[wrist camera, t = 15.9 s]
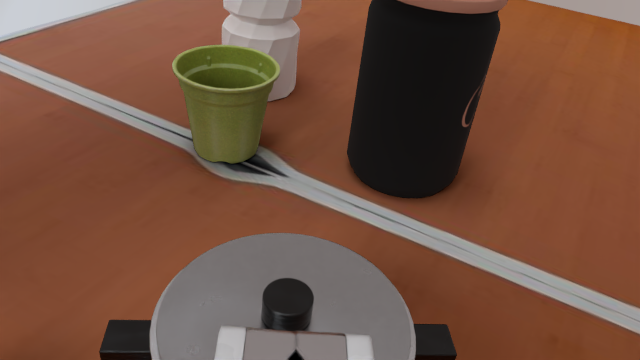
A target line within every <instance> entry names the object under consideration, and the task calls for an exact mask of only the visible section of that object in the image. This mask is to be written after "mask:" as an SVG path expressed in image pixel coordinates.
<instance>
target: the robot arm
mask: <svg viewBox="0 0 640 360" xmlns="http://www.w3.org/2000/svg"><path fill="white" fill-rule="evenodd" d="M214 360H374V354H373V345H372V339H371V337H370V335H360V334H344V333H334V332H313V331H296V332H294V331H283V330H272V329H261V328H250V327H236V326H222V325H221V328H220V331H219V334H218V340H217V346H216V352H215V358H214Z"/></svg>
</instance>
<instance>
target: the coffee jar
mask: <svg viewBox="0 0 640 360" xmlns="http://www.w3.org/2000/svg"><path fill="white" fill-rule="evenodd" d="M507 1H508V0H372V1H371V4H370V7H369V11H368V18H367V24H366V31H365V37H364V44H363V51H362V57H361V64H360V70H359V77H358V84H357V90H356V97H355V103H354V110H353V116H352V123H351V130H350V136H349V143H348V149H347V155H348V158H349V161H350V165H351V167H352V168H353V169H354V173H355V174H356V175H357V176H358V177H359V178H360V180H361V181H362V182H364V183H365V184H367V185H368V186H370V187H371V188H373V189H375V190H377V191H380V192H382V193H385V194H387V195H392V196H397V197H402V198H422V197H427V196H431V195H434V194H436V193H437V192H439V191H441V190H443V188H445V187H446V186H448V185H449V184H450V183H451V182H452V181H453V179H454V178H455V176H456V175H457V173H458V169H459V166H460V163H461V159H462V156H463V152H464V149H465V146H466V142H467V139H468V136H469V132H470V129H471V125H472V122H473V119H474V115H475V112H476V108H477V105H478V102H479V98H480V95H481V92H482V88H483V85H484V81H485V78H486V75H487V71H488V68H489V64H490V61H491V58H492V54H493V51H494V47H495V44H496V41H497V37H498V34H499V31H500V21H499V17H498V15H497V14H498V11H499V10H501V9H502V8H503V7H504V6H505V5H506V4H507Z"/></svg>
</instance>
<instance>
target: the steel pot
mask: <svg viewBox="0 0 640 360" xmlns="http://www.w3.org/2000/svg"><path fill="white" fill-rule="evenodd" d="M221 325H222V326H236V327H250V328H261V329H272V330H283V331H294V332H296V331H313V332H334V333H344V334H360V335H370V337H371V339H372V345H373V354H374V360H455V359H456V356H457V353H456V350H455V347H454V344H453V341H452V338H451V335H450V332H449V329H448V326H447V325H446V324H413V321H412V318H411V315H410V312H409V310H408V308H407V306H406V304H405V302H404V300H403V298H402V296H401V295H400V293H399V292H398V291H397V289H396V288H395V286H394V285H393V284H392V283H391V282H390V281H389V279H388V278H387V277H386V276H385V275H384V274H383V273H382V272H381V271H380V270H379V269H378V268H377V267H376V266H374V265H373V264H372V263H371V262H369V261H368V260H366V259H365V258H364V257H362V256H361V255H359V254H357V253H355V252H354V251H352V250H350V249H348V248H346V247H344V246H341V245H339V244H337V243H334V242H331V241H328V240H325V239H321V238H317V237H313V236H308V235H301V234H292V233H267V234H257V235H252V236H246V237H242V238H238V239H235V240H231V241H229V242H226V243H224V244H221V245H218V246H216V247H214V248H212V249H211V250H209V251H207V252H205V253H203V254H202V255H200V256H199V257H197V258H196V259H194V260H193V261H192V262H191V263H189V264H188V265H187V266H186V267H185V268H183V269H182V270H181V271H180V272H179V273H178V274H177V275H176V276H175V277H174V278H173V279H172V281H171V282H170V283H169V284H168V286H167V287H166V289H165V290H164V292H163V293H162V295H161V297H160V299H159V301H158V303H157V305H156V307H155V310H154V313H153V316H152V319H151V320H109V323H108V326H107V329H106V332H105V335H104V338H103V342H102V345H101V348H100V351H99V353H100V358H101V360H214V358H215V352H216V346H217V340H218V334H219V331H220V328H221Z"/></svg>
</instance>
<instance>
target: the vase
mask: <svg viewBox="0 0 640 360" xmlns="http://www.w3.org/2000/svg"><path fill="white" fill-rule="evenodd" d="M223 5H224V8H225V9H226V10H227V11H228V12H229V13H231V14H230V15H229V16H228V17H227V18H226V19H225V21H224V23H223V25H222V45H234V46H242V47H247V48H252V49H255V50H259V51H261V52H263V53H266V54H268V55H269V56H271V57H272V58H274V59H275V60H276V61H277V63H278V64H279V66H280V75H279V77H278V79H277V80H276V81H275V82H274V84H273V88H272V90H271V92H270V93H269V96H268V101H272V100H276V99H280V98H284V97H287V96H288V95H289V94H290V93H291V92H292V91H293V90H294V86H295V83H296V69H297V49H298V42H299V34H300V29H299V27H298V26H297V24H296V23H295V22H294V21H293V20H292V18H293V17H295V16H296V15H297V14H298V13H299V11H300V9H301V0H223Z"/></svg>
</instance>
